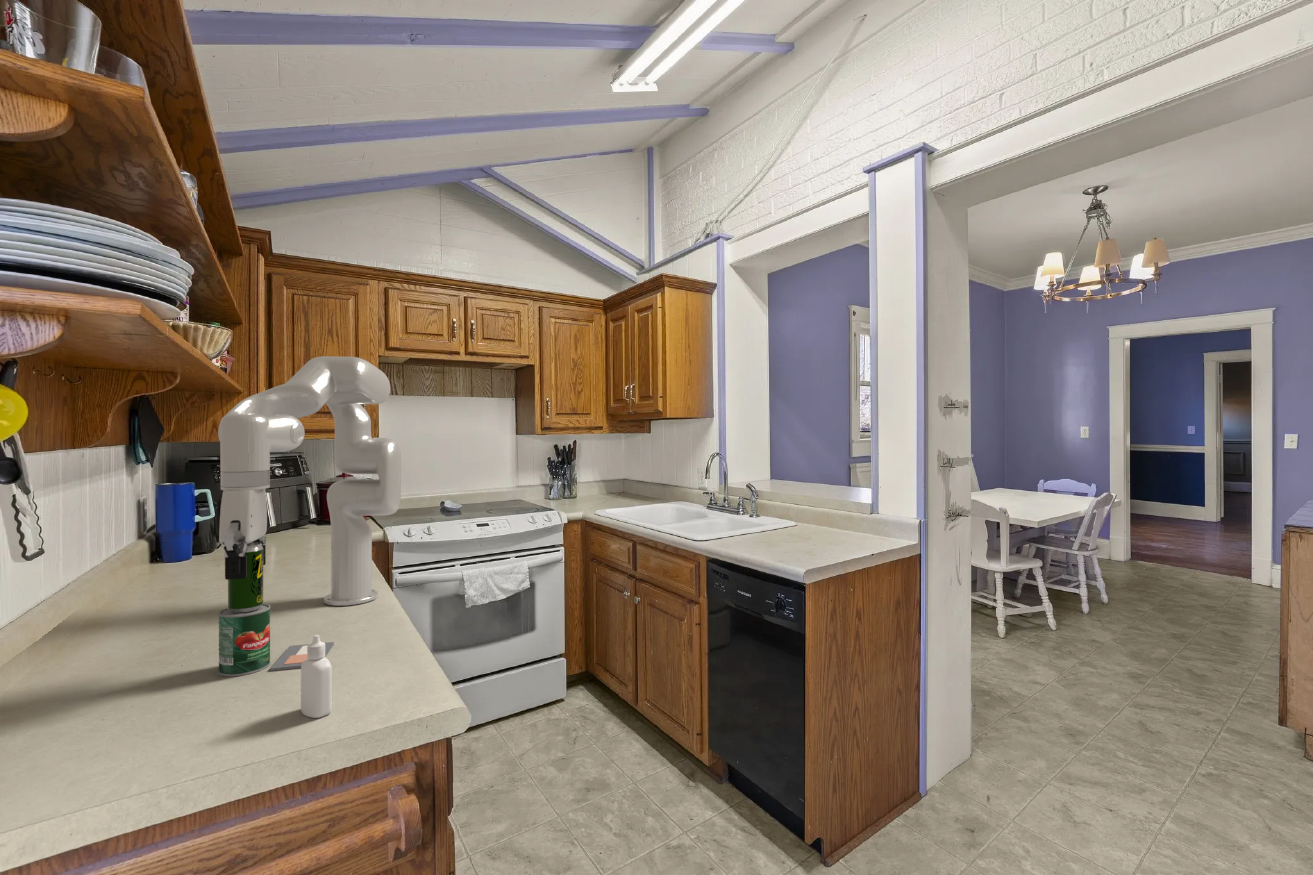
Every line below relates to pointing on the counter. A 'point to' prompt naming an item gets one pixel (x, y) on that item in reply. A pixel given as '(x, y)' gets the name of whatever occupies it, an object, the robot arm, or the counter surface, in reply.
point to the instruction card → (295, 657)
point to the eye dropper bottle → (316, 681)
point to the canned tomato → (244, 641)
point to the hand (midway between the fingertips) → (246, 572)
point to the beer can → (248, 583)
